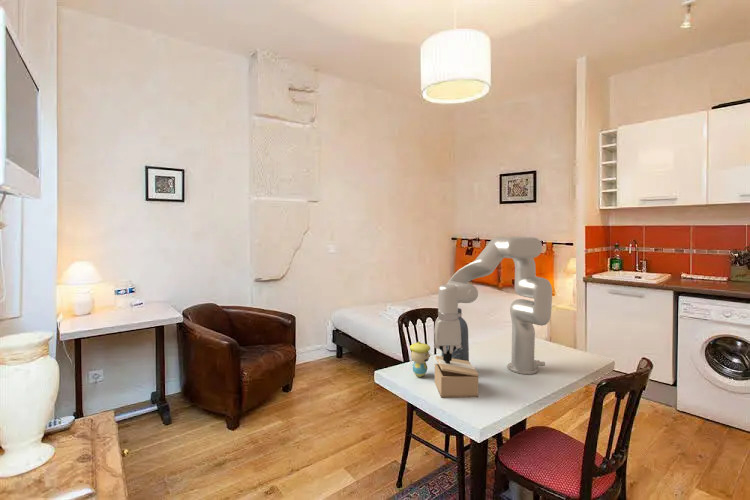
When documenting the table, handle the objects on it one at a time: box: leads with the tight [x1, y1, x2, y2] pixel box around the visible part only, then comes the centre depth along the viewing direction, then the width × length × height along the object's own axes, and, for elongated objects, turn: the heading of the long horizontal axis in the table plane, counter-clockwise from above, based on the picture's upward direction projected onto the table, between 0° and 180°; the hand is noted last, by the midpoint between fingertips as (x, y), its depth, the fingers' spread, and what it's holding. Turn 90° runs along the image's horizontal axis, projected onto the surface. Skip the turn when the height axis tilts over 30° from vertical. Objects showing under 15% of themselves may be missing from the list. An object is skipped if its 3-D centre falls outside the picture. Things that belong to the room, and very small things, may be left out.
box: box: [434, 363, 479, 399], centre depth 155 cm, size 14×14×8 cm
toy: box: [409, 341, 431, 377], centre depth 168 cm, size 8×9×15 cm
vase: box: [440, 307, 470, 362], centre depth 172 cm, size 12×12×28 cm
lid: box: [435, 355, 480, 377], centre depth 154 cm, size 14×14×1 cm
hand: (447, 362), depth 154 cm, fingers closed
